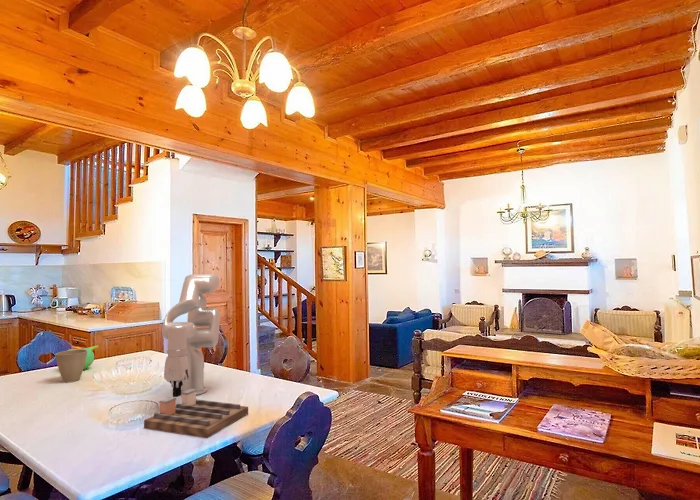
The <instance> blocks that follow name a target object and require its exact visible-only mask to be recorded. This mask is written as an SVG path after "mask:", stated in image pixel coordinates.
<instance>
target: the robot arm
mask: <svg viewBox="0 0 700 500" xmlns="http://www.w3.org/2000/svg"><path fill="white" fill-rule="evenodd" d="M219 285H220V279H219V276H218V275H217V274H216V273H194V274H188V275H186V276H185V277H184V280H183V283H182V288H181V293H180V298H179V301H178V303H176V304H174V305H173V306H172V307H171V309H169V310H168V312H167V313H166V315H165V317H164V320H163V324H162V327H161V335H162V337H163V338H164V340H165V339H166V340H167V350H166V353H167V356H166V358H165V362H164V370H163V371H164V373H163V378H164V380H165V381H166V382H168V383H169V384H170V385H171V387H172V397H175V398H178V397H180V396H182V394H181V392H183V391H186V390H188V389H197V391H196V396H200V395H203V394H205V393H206V392H207V390H208V389H207V387H205V386H204V384H205V383H204V381H205V379H204V378H205V377H204V374H205V373H204V371H205V361H204V360H205V359H204V358H205V357H204V354H203V351H202V350H201V349H200V348H214V347H216V346H217V345H218V342H219V336H220V335H219V334H220V326H221V325H220V324H221V323H220V322H221V315H220V314H221V313H220V310H219V309H218V308H217V307H208V308H207V301H208V299H207V298H206V297H205V294H208V295H210V294H213V293H214V292H215V291H216V290H217V289H218V288H219ZM185 314H187V317H186V318H187V319H186V320H187V321H178V322H177V321H175V320H176V319H177V318H178V317H181V316H182V315H185ZM199 327H200V328H199ZM207 327H209V328H207Z"/></svg>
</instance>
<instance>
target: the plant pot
mask: <svg viewBox="0 0 700 500" xmlns="http://www.w3.org/2000/svg"><path fill="white" fill-rule="evenodd" d="M68 350H69V349H68ZM86 356H87V350H69V351H67V350H63V351H59V352H57V353H55V360H56V364H57V369H58V371H59V374H60V377H61V379H62V382H63V383H73V382H78V381H79V380H80V379H81V378H82V374H83V371H84V370H85V369H84V365H85V361H86Z"/></svg>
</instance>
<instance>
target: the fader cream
mask: <svg viewBox="0 0 700 500" xmlns="http://www.w3.org/2000/svg"><path fill="white" fill-rule="evenodd" d="M196 391H197V389H188V390H186V391H183V392H181V394H182V395H181V404H185V405H194V404H196V399H197V398H196V397H197V395H196Z"/></svg>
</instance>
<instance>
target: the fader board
mask: <svg viewBox="0 0 700 500" xmlns="http://www.w3.org/2000/svg"><path fill="white" fill-rule="evenodd" d="M247 415H249V406H245V405H241V404H239V403H231V402H222V401H215V400H214V401H213V400H206V399H205V400H204V399H198V398H196V404H194V405H185V404H182V403H177V404H176V403H175V413H174V414H172V415H167V414H160V412H159V413H158V412H156V413H153V415H152V416H150V417H148V418H146V419H144V420H143V429H149V430H154V431H163V432H168V433H174V434H175V433H176V434H181V435H187V436H195V437H201V438H207V439H208V438H209V437H211V436H214V435H215V434H217V433H218V432H219V431H222V430H223V429H225V428H226V427H228V426H230V425H232V424H234V423H235V422H238V420H240V419H242V418H245V416H247Z"/></svg>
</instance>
